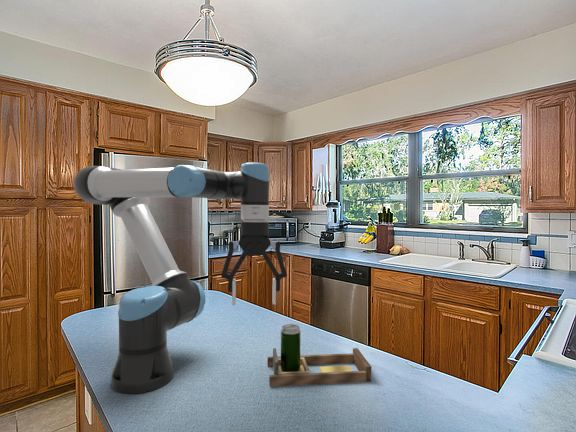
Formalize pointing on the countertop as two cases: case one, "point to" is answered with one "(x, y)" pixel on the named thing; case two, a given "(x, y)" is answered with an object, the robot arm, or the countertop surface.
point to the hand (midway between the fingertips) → (254, 303)
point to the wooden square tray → (278, 371)
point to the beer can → (290, 348)
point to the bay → (326, 370)
